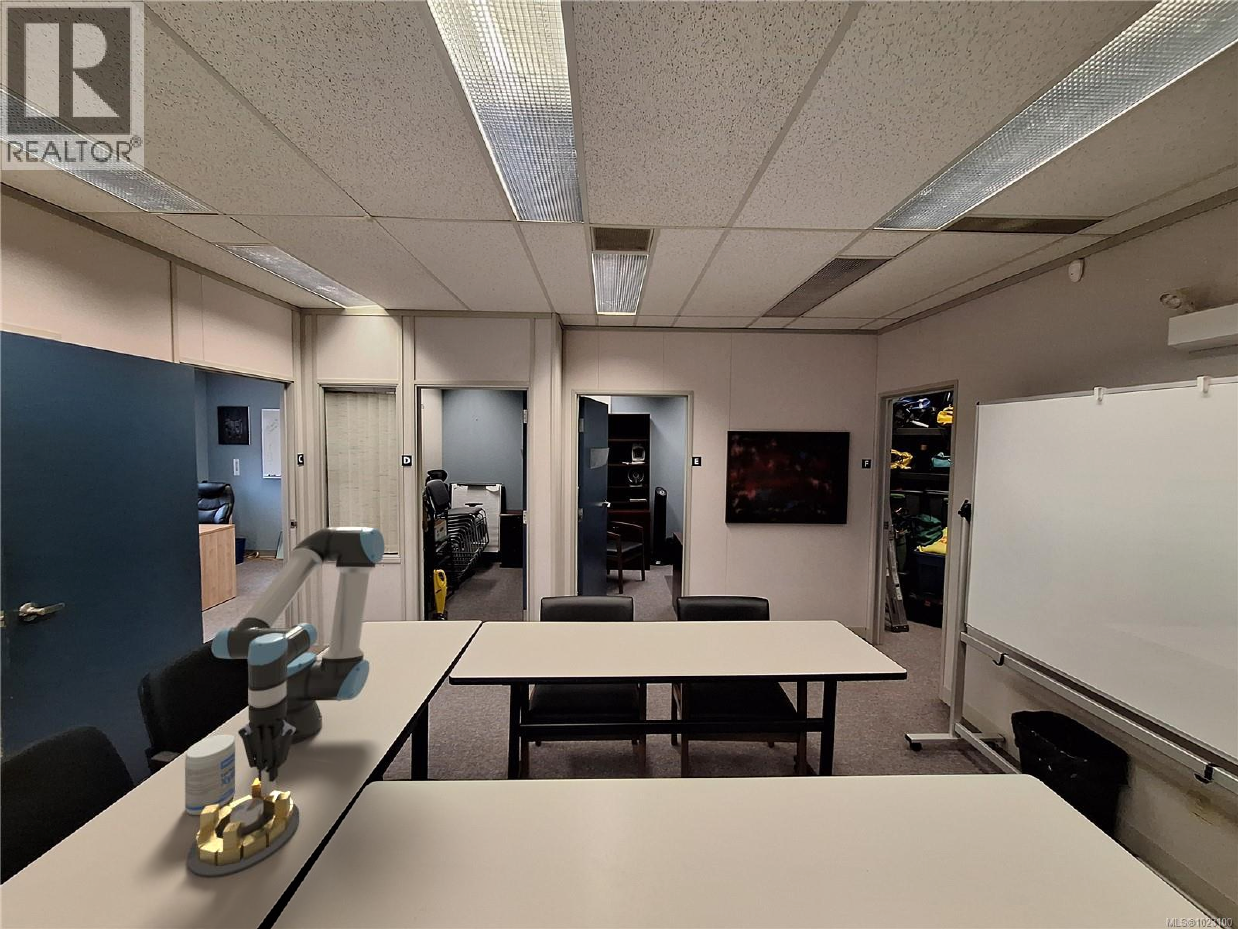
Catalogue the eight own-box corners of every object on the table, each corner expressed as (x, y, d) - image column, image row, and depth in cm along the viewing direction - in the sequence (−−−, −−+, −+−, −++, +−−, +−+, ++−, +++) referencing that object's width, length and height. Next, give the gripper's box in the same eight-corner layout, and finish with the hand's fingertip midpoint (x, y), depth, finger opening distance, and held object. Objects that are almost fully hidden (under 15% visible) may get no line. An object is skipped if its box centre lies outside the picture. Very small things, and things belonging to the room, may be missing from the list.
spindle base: (257, 795, 118) (258, 769, 118) (319, 814, 113) (319, 787, 113) (163, 862, 99) (163, 831, 99) (232, 889, 94) (232, 856, 93)
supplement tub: (232, 807, 114) (232, 750, 114) (180, 823, 109) (180, 763, 108) (237, 782, 122) (238, 729, 122) (189, 796, 117) (190, 740, 116)
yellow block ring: (220, 811, 111) (220, 783, 111) (302, 796, 117) (302, 770, 116) (179, 874, 95) (179, 841, 95) (275, 854, 101) (276, 823, 100)
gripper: (305, 692, 115) (305, 781, 116) (253, 691, 115) (253, 781, 116) (284, 709, 108) (284, 805, 109) (228, 708, 108) (229, 804, 109)
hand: (268, 792), depth 113 cm, fingers closed
